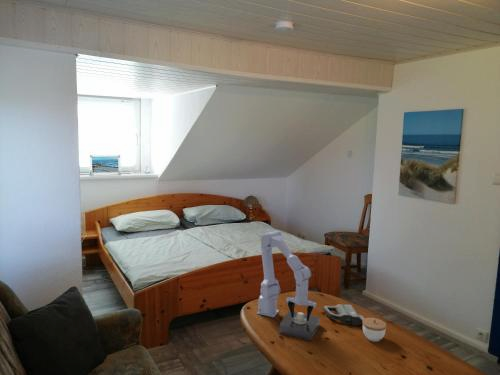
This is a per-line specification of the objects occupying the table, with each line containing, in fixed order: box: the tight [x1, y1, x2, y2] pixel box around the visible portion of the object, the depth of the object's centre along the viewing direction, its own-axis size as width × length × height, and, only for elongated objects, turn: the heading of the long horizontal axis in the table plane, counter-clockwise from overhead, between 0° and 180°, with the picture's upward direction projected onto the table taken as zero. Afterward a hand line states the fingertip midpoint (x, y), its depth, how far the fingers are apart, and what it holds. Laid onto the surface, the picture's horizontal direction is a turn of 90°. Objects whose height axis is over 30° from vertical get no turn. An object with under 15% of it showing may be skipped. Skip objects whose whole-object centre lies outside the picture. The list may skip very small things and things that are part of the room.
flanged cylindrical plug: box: [293, 312, 307, 325], centre depth 185 cm, size 7×7×6 cm
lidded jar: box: [362, 317, 387, 343], centre depth 179 cm, size 11×11×9 cm
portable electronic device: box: [322, 303, 366, 326], centre depth 196 cm, size 16×20×5 cm
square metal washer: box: [278, 310, 320, 341], centre depth 185 cm, size 16×16×4 cm
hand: (300, 318), depth 185 cm, fingers open, 7 cm apart
